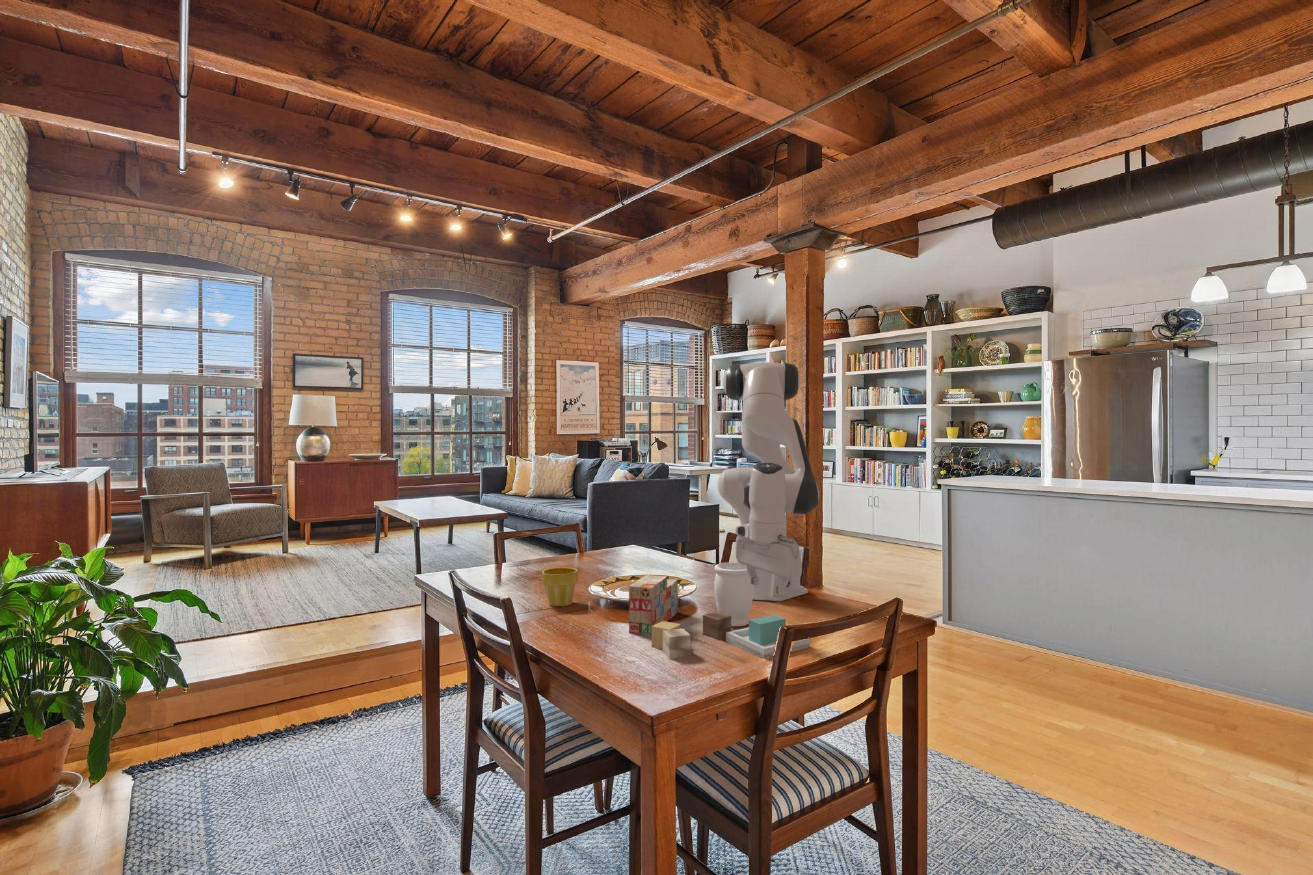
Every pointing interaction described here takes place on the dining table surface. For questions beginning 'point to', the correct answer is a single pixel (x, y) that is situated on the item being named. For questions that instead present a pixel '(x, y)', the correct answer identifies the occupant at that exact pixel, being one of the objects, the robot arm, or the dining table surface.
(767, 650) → the tray
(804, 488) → the robot arm
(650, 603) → the stack of blocks
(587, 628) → the dining table surface
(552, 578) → the plant pot
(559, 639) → the dining table surface
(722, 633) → the walnut cube
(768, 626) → the teal brick
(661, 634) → the ochre cube
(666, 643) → the maple cube
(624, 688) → the dining table surface
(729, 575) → the jar
